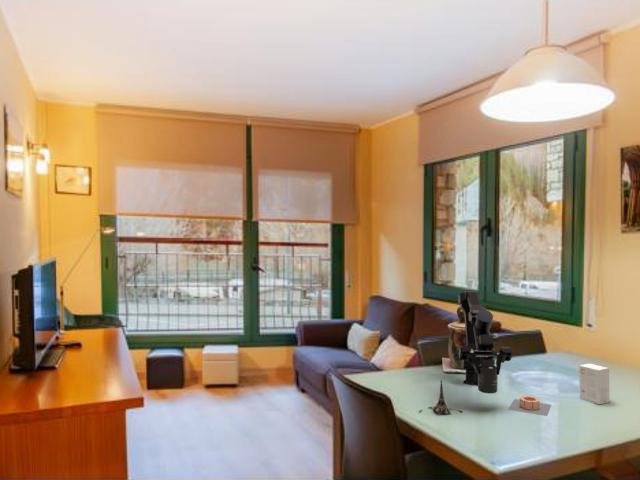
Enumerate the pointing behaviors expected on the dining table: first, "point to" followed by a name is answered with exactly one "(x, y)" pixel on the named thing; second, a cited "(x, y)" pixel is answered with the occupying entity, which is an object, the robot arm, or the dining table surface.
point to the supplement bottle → (488, 376)
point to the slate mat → (542, 411)
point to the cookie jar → (456, 344)
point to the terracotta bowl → (529, 403)
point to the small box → (594, 383)
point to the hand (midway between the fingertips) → (488, 374)
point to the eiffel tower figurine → (441, 405)
